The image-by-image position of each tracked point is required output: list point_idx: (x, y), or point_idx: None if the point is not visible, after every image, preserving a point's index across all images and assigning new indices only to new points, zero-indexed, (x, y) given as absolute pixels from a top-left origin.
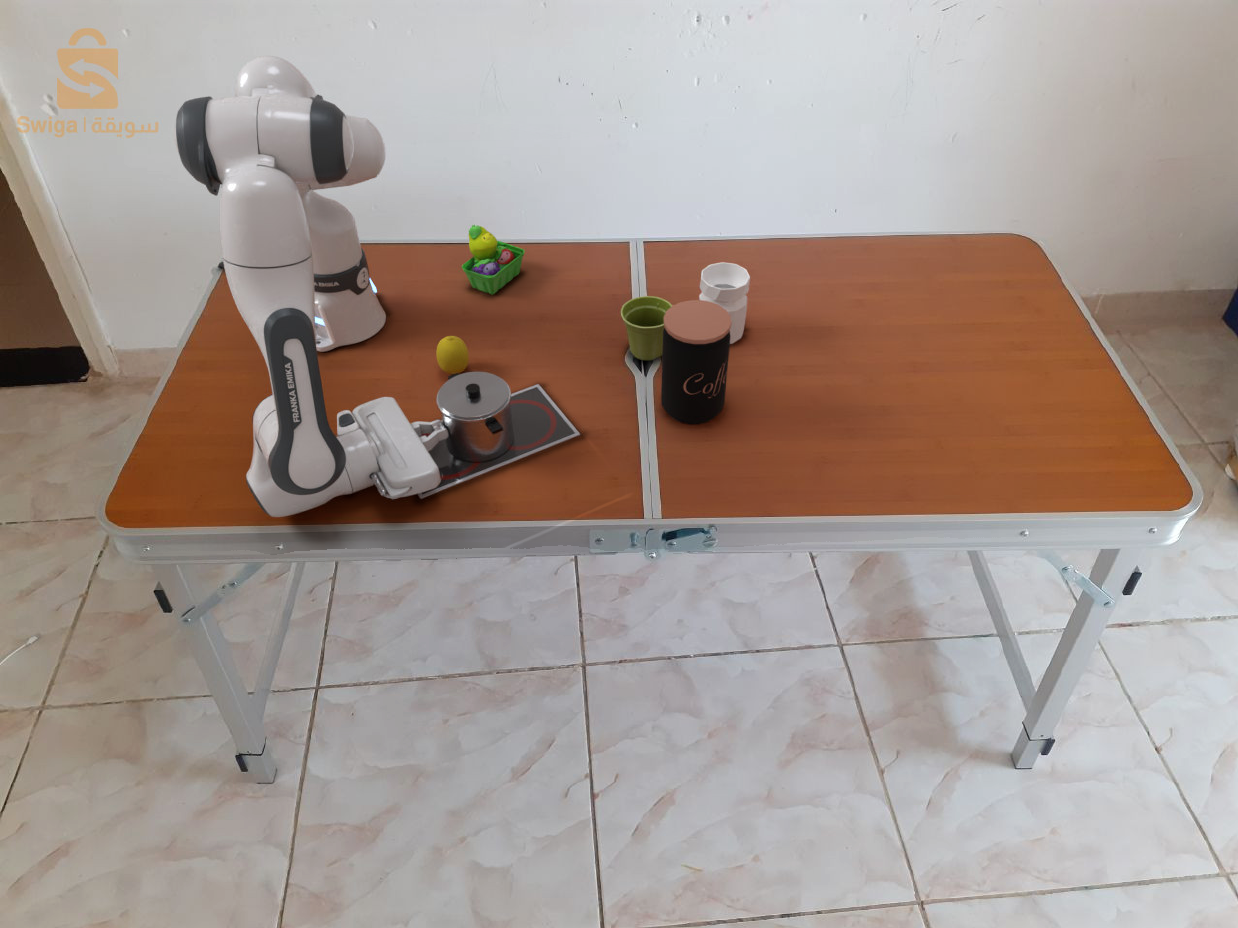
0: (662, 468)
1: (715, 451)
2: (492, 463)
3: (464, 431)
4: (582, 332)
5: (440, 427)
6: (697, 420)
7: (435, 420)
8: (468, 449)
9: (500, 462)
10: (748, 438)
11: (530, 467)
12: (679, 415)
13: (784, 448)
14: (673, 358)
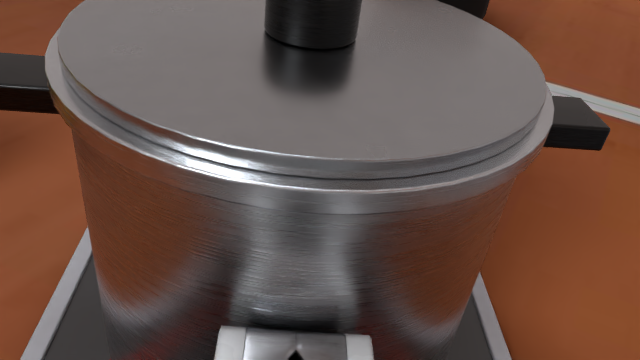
0: (587, 90)
1: (553, 42)
2: (465, 336)
3: (478, 246)
4: (66, 4)
5: (324, 355)
6: (484, 13)
7: (216, 351)
8: (443, 351)
9: (468, 310)
10: (531, 17)
11: (515, 252)
12: (470, 12)
13: (566, 10)
14: None
